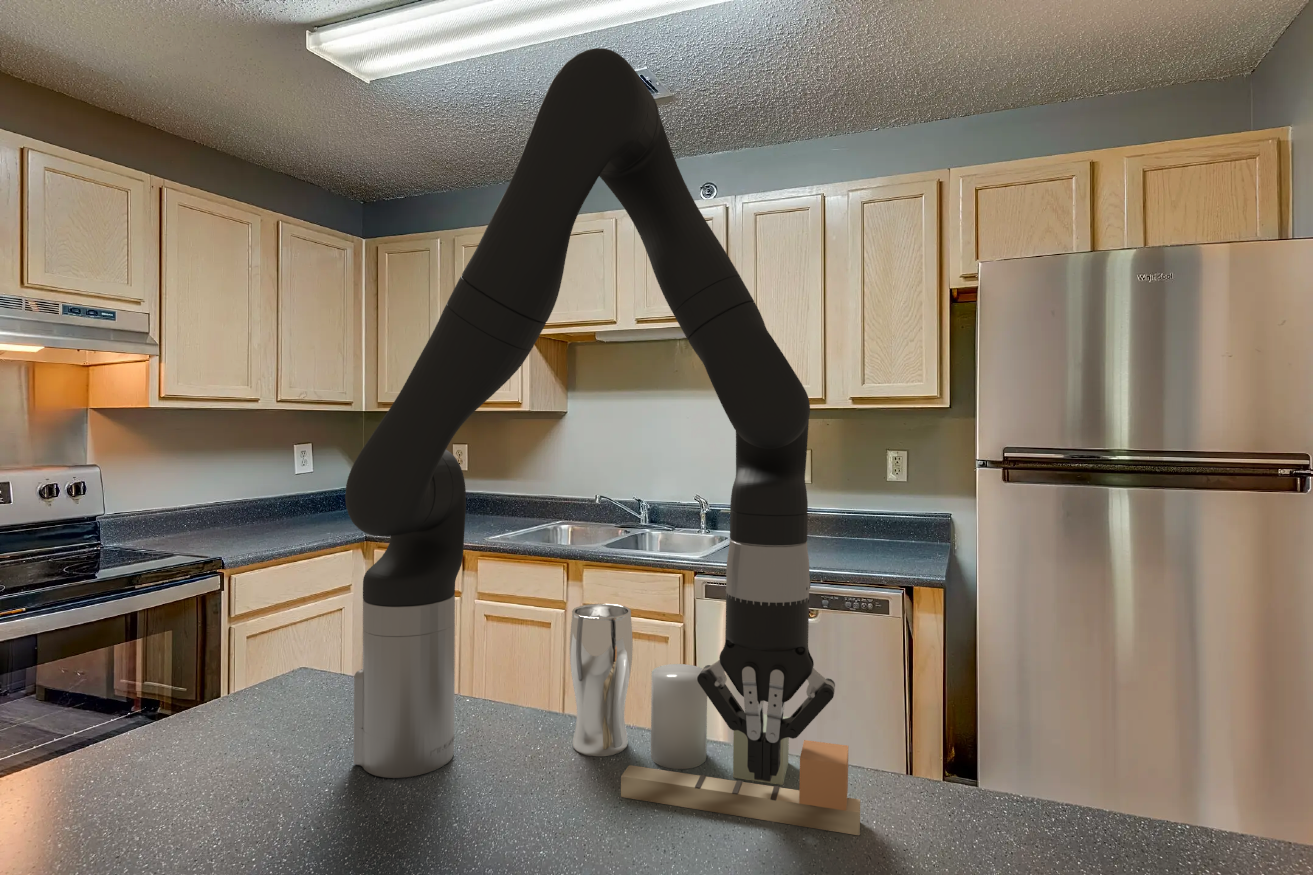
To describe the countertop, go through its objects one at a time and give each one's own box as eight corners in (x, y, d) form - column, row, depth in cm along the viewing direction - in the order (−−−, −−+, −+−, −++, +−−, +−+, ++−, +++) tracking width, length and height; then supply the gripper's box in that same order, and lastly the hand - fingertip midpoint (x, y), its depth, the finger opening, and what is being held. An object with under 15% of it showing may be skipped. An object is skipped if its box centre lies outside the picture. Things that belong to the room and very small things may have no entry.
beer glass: (623, 761, 78) (624, 620, 78) (560, 755, 79) (561, 616, 79) (637, 734, 85) (639, 604, 84) (579, 729, 86) (580, 601, 86)
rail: (620, 796, 70) (621, 775, 70) (629, 784, 73) (629, 763, 73) (859, 835, 64) (859, 811, 64) (860, 820, 67) (860, 798, 67)
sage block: (733, 778, 75) (733, 729, 75) (741, 757, 79) (742, 711, 79) (782, 785, 73) (783, 735, 73) (788, 763, 78) (789, 716, 78)
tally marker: (799, 803, 65) (799, 758, 65) (803, 782, 69) (804, 739, 69) (846, 810, 64) (846, 764, 64) (847, 788, 68) (848, 745, 68)
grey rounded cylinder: (643, 764, 77) (644, 678, 77) (659, 741, 83) (660, 661, 83) (699, 772, 76) (700, 685, 76) (711, 748, 81) (712, 667, 81)
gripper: (687, 592, 66) (684, 785, 66) (839, 604, 62) (835, 809, 62) (705, 576, 73) (702, 749, 73) (843, 586, 69) (839, 769, 69)
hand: (764, 776), depth 68 cm, fingers closed
